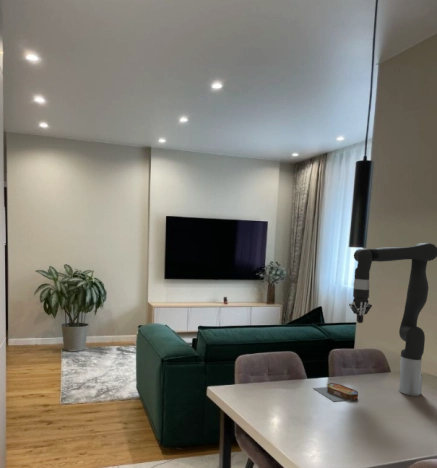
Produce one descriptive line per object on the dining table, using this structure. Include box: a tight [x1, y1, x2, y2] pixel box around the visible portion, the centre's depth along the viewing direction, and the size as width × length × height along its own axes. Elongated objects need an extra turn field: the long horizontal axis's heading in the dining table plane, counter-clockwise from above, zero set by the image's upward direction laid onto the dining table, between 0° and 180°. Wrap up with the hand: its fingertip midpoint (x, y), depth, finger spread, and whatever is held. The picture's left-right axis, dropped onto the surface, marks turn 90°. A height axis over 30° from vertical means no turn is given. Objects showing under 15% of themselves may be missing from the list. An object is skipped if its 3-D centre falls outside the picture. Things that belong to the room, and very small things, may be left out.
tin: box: [326, 382, 359, 401], centre depth 177 cm, size 15×3×8 cm
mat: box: [312, 386, 357, 403], centre depth 177 cm, size 12×16×1 cm
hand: (359, 322), depth 189 cm, fingers closed
